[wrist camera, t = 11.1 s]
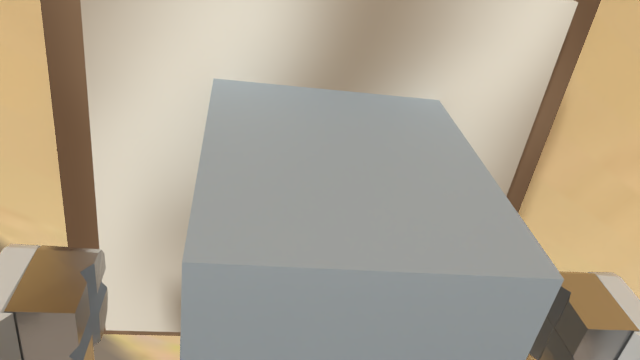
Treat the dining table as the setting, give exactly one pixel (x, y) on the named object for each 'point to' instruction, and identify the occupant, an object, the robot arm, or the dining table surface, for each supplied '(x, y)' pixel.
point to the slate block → (352, 235)
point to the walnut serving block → (282, 69)
